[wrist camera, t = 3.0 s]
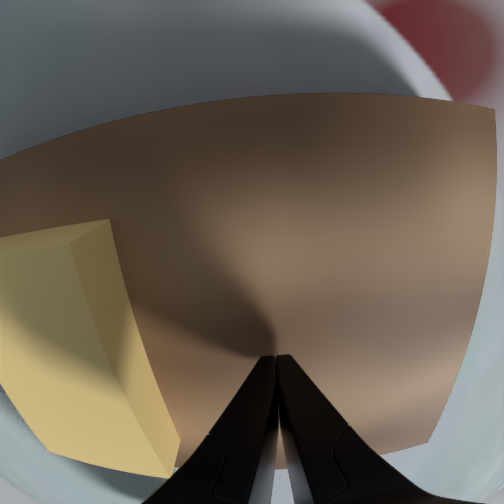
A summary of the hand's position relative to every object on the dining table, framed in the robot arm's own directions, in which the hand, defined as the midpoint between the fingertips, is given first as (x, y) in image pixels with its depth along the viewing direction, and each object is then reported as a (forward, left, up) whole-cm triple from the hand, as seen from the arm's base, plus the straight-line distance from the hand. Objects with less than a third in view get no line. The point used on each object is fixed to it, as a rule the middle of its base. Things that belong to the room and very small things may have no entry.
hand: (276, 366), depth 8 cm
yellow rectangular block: (0, +7, 0) cm, 7 cm away
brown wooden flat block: (0, +3, -4) cm, 5 cm away
